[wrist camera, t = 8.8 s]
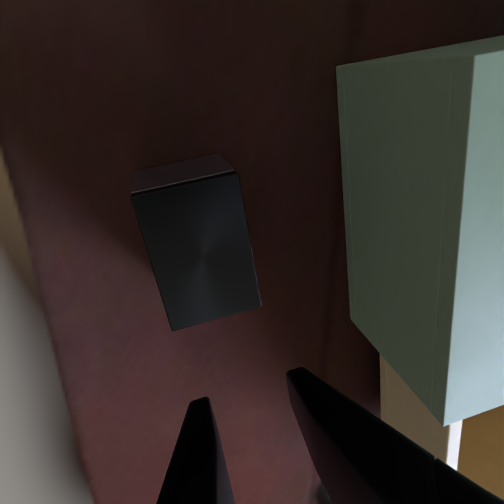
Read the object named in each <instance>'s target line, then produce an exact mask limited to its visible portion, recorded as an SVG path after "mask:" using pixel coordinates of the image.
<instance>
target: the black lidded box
mask: <svg viewBox="0 0 504 504" xmlns="http://www.w3.org/2000/svg"><path fill="white" fill-rule="evenodd" d="M131 201H132V204H133V207H134V211H135V214H136V217H137V220H138V224H139V227H140V230H141V233H142V236H143V240H144V243H145V246H146V249H147V253H148V256H149V259H150V262H151V266H152V269H153V272H154V275H155V278H156V282H157V285H158V288H159V291H160V295H161V298H162V301H163V304H164V308H165V311H166V314H167V317H168V321H169V324H170V327H171V330H172V331H176V330H179V329H183V328H186V327H190V326H193V325H197V324H201V323H204V322H208V321H211V320H215V319H218V318H222V317H225V316H229V315H233V314H236V313H240V312H243V311H247V310H250V309H254V308H257V307H261V306H262V304H261V298H260V292H259V287H258V281H257V275H256V270H255V264H254V258H253V253H252V247H251V241H250V236H249V230H248V224H247V219H246V213H245V207H244V202H243V196H242V190H241V185H240V179H239V174H238V173H237V172H236V171H235V170H234V169H233V168H232V167H231V166H230V165H229V164H228V163H227V162H226V161H225V160H224V159H223V158H222V157H221V156H220V155H219V154H213V155H208V156H204V157H199V158H194V159H190V160H185V161H180V162H175V163H171V164H166V165H161V166H157V167H152V168H147V169H142V170H138V171H134V175H133V183H132V191H131Z"/></svg>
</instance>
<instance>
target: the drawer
mask: <svg viewBox="0 0 504 504" xmlns="http://www.w3.org/2000/svg"><path fill="white" fill-rule="evenodd" d="M380 399H381V420H383V421H384V422H385V423H387V424H388V425H390V426H391V427H393V428H394V429H396V430H397V431H399V432H400V433H402V434H403V435H405V436H406V437H408V438H409V439H410V440H412V441H413V442H415V443H416V444H418V445H419V446H421V447H422V448H424V449H425V450H427V451H428V452H430V453H431V454H433V455H434V457H435V459H436V458H439V459H440V460H442V461H443V462H444V463H446V464H447V465H449V466H450V467H452V468H453V469H455V470H456V471H458V472H459V473H461V474H462V475H464V476H466V477H467V478H469V479H470V480H472V481H473V482H475V483H476V484H478V485H479V486H481V487H483V488H484V489H486V490H487V491H489V492H491V493H492V494H494V495H496V496H498V497H499V498H501V499H503V500H504V405H502V406H499V407H496V408H493V409H491V410H488V411H485V412H482V413H480V414H477V415H474V416H471V417H469V418H466V419H463V420H460V421H457V422H455V423H452V424H449V425H446V426H442V425H441V424H440V423H439V421H438V420H437V419H436V418H435V417H434V416H433V414H432V413H431V412H430V411H429V410H428V408H427V407H426V406H425V405H424V404H423V403H422V401H421V400H420V399H419V398H418V397H417V396H416V395H415V393H414V392H413V391H412V390H411V389H410V388H409V386H408V385H407V384H406V383H405V382H404V381H403V380H402V378H401V377H400V376H399V375H398V374H397V373H396V371H395V370H394V369H393V368H392V367H391V366H390V365H389V363H388V362H387V361H386V360H385V359H384V358H383V356H382V355H381V354H380Z"/></svg>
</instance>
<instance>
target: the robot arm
mask: <svg viewBox="0 0 504 504" xmlns="http://www.w3.org/2000/svg"><path fill="white" fill-rule="evenodd" d="M286 380H287V386H288V392H289V398H290V402H291V405H292V408H293V411H294V413H295V416H296V419H297V421H298V424H299V427H300V429H301V432H302V434H303V437H304V440H305V442H306V445H307V448H308V450H309V453H310V456H311V458H312V461H313V463H314V466H315V468H316V470H317V473H318V475H319V477H320V479H321V481H322V483H323V485H324V487H325V489H326V491H327V493H328V495H329V497H330V499H331V501H332V503H333V504H504V500H503V499H501V498H499V497H498V496H496V495H494V494H492V493H491V492H489V491H487V490H486V489H484V488H483V487H481V486H479V485H478V484H476V483H475V482H473V481H472V480H470V479H469V478H467V477H466V476H464V475H462V474H461V473H459V472H458V471H456V470H455V469H453V468H452V467H450V466H449V465H447V464H446V463H444V462H443V461H442V460H440V459H439V458H436V459H435V457H434V455H433V454H431V453H430V452H428V451H427V450H425V449H424V448H422V447H421V446H419V445H418V444H416V443H415V442H413V441H412V440H410V439H409V438H408V437H406V436H405V435H403V434H402V433H400V432H399V431H397V430H396V429H394V428H393V427H391V426H390V425H388V424H387V423H385V422H384V421H383V420H381V419H380V418H378V417H377V416H375V415H374V414H372V413H371V412H369V411H368V410H366V409H365V408H363V407H362V406H360V405H359V404H358V403H356V402H355V401H353V400H352V399H350V398H349V397H347V396H346V395H344V394H343V393H341V392H340V391H338V390H337V389H335V388H334V387H333V386H331V385H330V384H328V383H327V382H325V381H324V380H322V379H321V378H319V377H318V376H316V375H315V374H313V373H312V372H310V371H309V370H308V369H306V368H304V367H298V368H295V369H291V370H288V371H287V372H286ZM156 504H234V498H233V493H232V489H231V484H230V480H229V476H228V471H227V467H226V463H225V458H224V454H223V450H222V445H221V441H220V437H219V432H218V428H217V424H216V421H215V417H214V414H213V410H212V407H211V403H210V400H209V398H208V397H203V398H200V399H197V400H193V401H191V402H190V404H189V406H188V409H187V412H186V415H185V418H184V421H183V424H182V427H181V430H180V433H179V436H178V440H177V443H176V446H175V449H174V452H173V455H172V458H171V461H170V464H169V467H168V470H167V473H166V476H165V479H164V482H163V485H162V488H161V491H160V494H159V497H158V500H157V503H156Z"/></svg>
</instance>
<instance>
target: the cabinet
mask: <svg viewBox="0 0 504 504" xmlns="http://www.w3.org/2000/svg"><path fill="white" fill-rule="evenodd" d="M336 78H337V96H338V113H339V131H340V148H341V166H342V183H343V201H344V218H345V236H346V253H347V271H348V289H349V306H350V319H351V321H352V322H353V323H354V324H355V325H356V326H357V328H358V329H359V330H360V331H361V332H362V333H363V335H364V336H365V337H366V338H367V339H368V340H369V341H370V343H371V344H372V345H373V346H374V347H375V348H376V350H377V351H378V352H379V353H380V354H381V355H382V356H383V358H384V359H385V360H386V361H387V362H388V363H389V365H390V366H391V367H392V368H393V369H394V370H395V371H396V373H397V374H398V375H399V376H400V377H401V378H402V380H403V381H404V382H405V383H406V384H407V385H408V386H409V388H410V389H411V390H412V391H413V392H414V393H415V395H416V396H417V397H418V398H419V399H420V400H421V401H422V403H423V404H424V405H425V406H426V407H427V408H428V410H429V411H430V412H431V413H432V414H433V416H434V417H435V418H436V419H437V420H438V421H439V423H440V424H441V425H442V426H446V425H449V424H452V423H455V422H457V421H460V420H463V419H466V418H469V417H471V416H474V415H477V414H480V413H482V412H485V411H488V410H491V409H493V408H496V407H499V406H502V405H504V35H502V36H496V37H491V38H486V39H480V40H475V41H469V42H464V43H459V44H453V45H448V46H442V47H437V48H431V49H426V50H421V51H415V52H410V53H404V54H399V55H394V56H388V57H383V58H377V59H372V60H366V61H361V62H356V63H350V64H345V65H339V66H337V67H336Z"/></svg>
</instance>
